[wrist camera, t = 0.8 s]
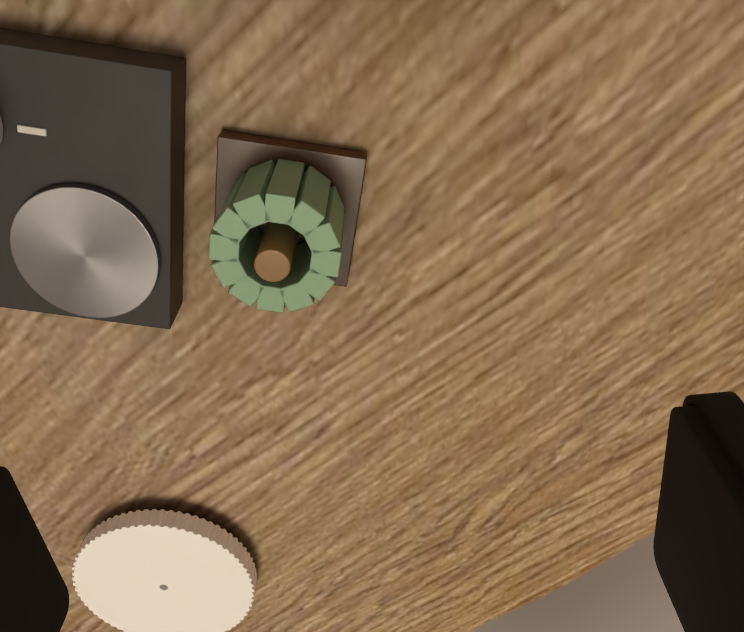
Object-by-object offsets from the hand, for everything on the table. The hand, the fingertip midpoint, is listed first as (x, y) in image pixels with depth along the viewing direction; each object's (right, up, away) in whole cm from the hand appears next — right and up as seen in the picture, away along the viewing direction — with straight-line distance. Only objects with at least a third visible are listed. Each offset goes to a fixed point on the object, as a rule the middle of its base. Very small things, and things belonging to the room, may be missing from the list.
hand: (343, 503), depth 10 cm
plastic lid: (-16, -17, +47) cm, 52 cm away
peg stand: (-4, +9, +31) cm, 32 cm away
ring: (-4, +8, +30) cm, 31 cm away
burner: (-15, +6, +29) cm, 33 cm away
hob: (-17, +11, +30) cm, 36 cm away
